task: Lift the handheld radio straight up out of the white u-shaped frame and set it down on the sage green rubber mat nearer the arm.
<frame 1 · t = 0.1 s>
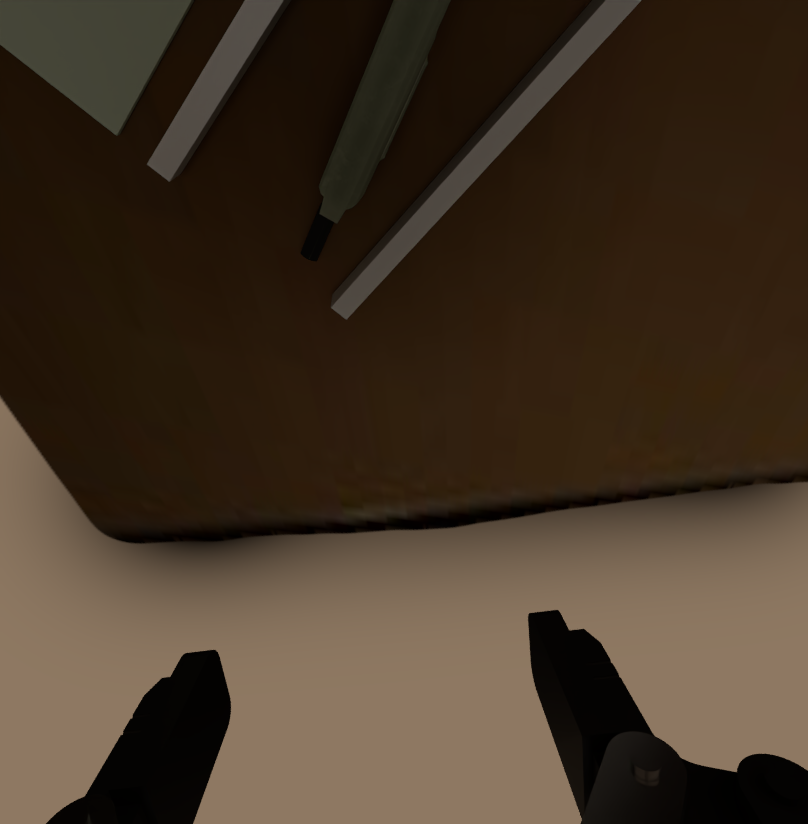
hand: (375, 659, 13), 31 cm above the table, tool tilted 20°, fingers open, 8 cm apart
white u-shaped frame: (385, 77, 32), on the table
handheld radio: (383, 77, 32), resting in white u-shaped frame
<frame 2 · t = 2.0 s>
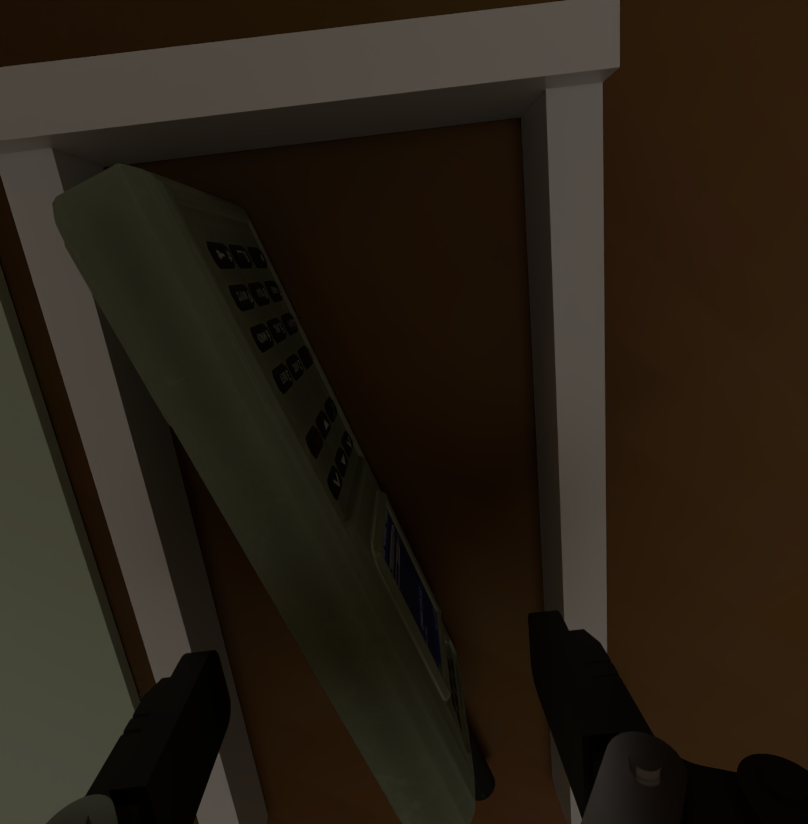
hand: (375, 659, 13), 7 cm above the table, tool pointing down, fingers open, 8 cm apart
white u-shaped frame: (370, 531, 19), on the table
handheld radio: (363, 529, 20), resting in white u-shaped frame
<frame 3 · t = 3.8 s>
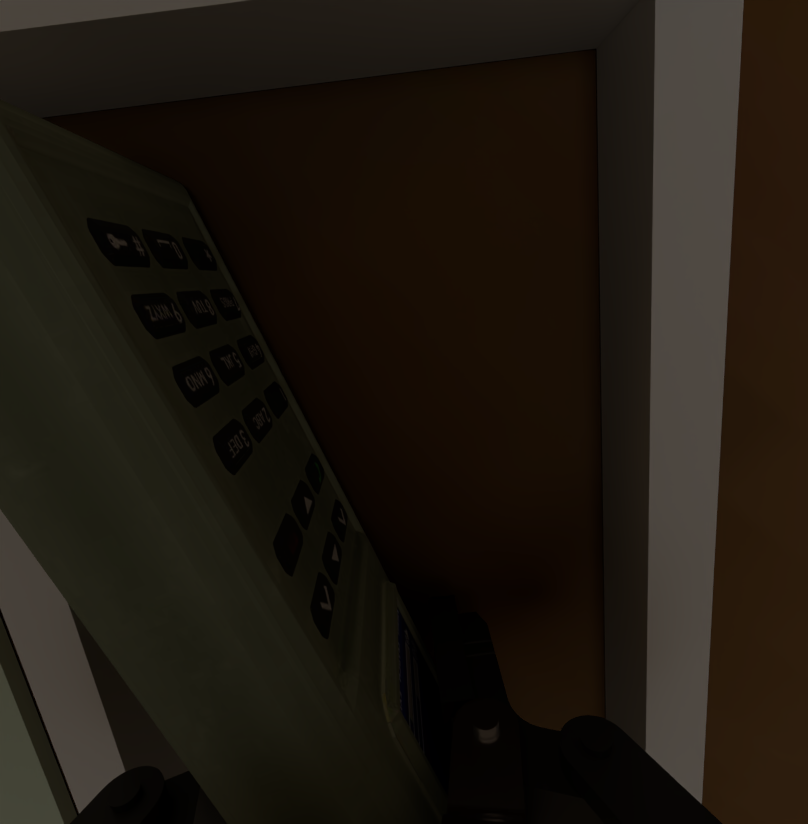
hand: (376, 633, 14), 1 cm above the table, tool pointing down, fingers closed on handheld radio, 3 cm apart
white u-shaped frame: (378, 616, 14), on the table
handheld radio: (362, 622, 15), resting in white u-shaped frame, touching gripper
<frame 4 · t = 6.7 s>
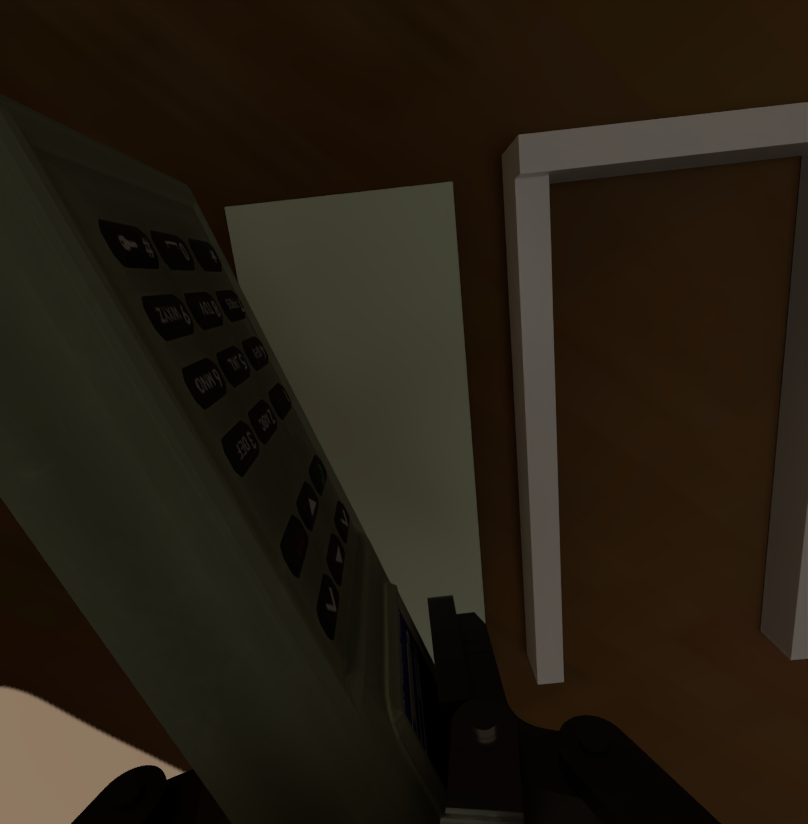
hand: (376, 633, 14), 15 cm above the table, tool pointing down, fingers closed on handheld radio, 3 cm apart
white u-shaped frame: (660, 434, 28), on the table
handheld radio: (362, 623, 15), point 14 cm above the table, touching gripper
green mat: (373, 464, 28), on the table
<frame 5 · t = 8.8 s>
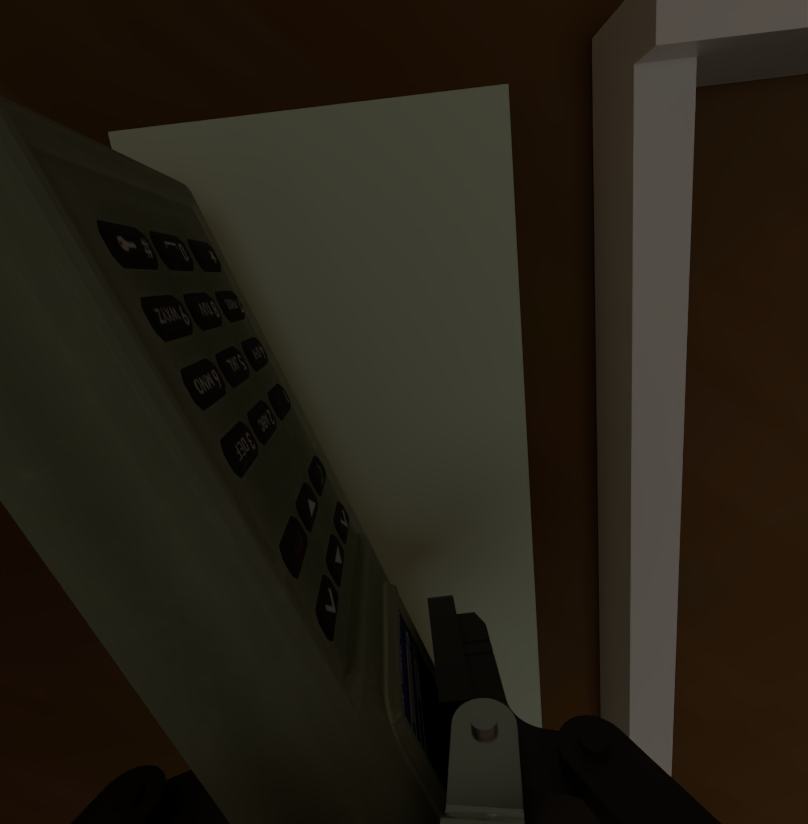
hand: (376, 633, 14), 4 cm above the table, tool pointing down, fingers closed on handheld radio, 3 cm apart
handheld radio: (362, 623, 15), point 3 cm above the table, touching gripper
green mat: (375, 551, 18), on the table
when the fingers open (2 cm above the table, at t = 10.1 s): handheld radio stays where it is, resting on green mat.
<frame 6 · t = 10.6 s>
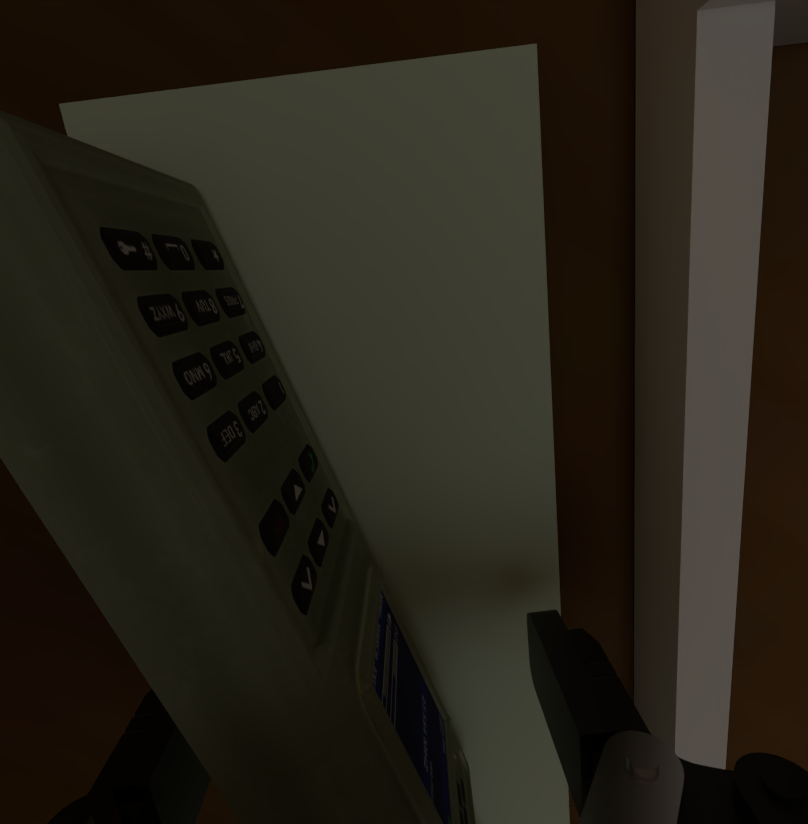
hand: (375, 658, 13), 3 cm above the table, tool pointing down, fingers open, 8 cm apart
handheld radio: (352, 605, 15), resting on green mat
green mat: (378, 590, 16), on the table
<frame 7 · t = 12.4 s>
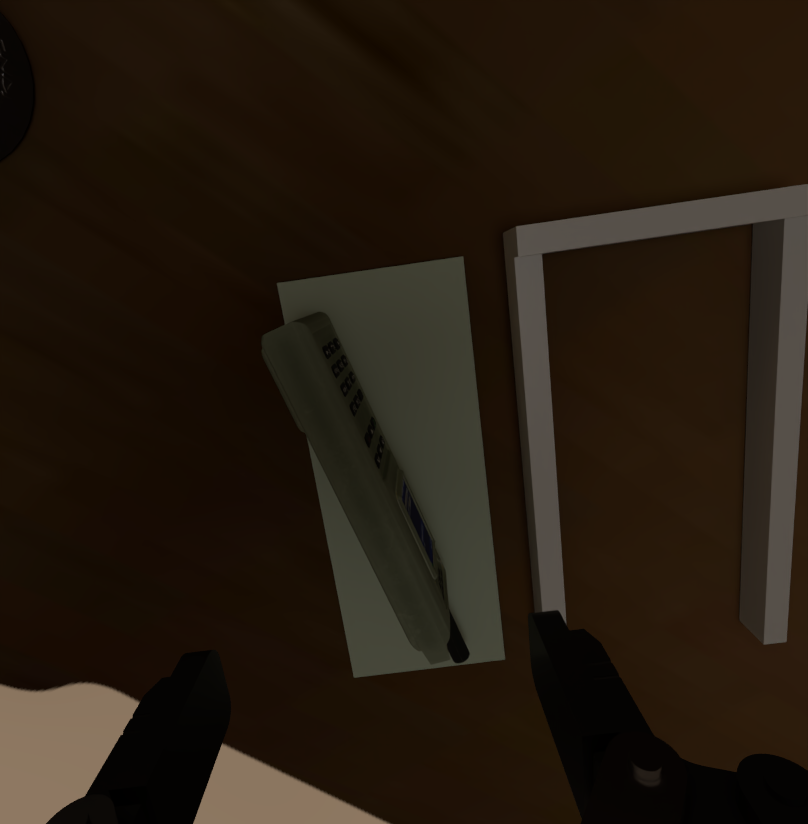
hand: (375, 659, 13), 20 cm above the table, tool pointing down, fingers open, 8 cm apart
white u-shaped frame: (644, 455, 33), on the table
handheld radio: (389, 494, 33), resting on green mat
green mat: (402, 487, 33), on the table
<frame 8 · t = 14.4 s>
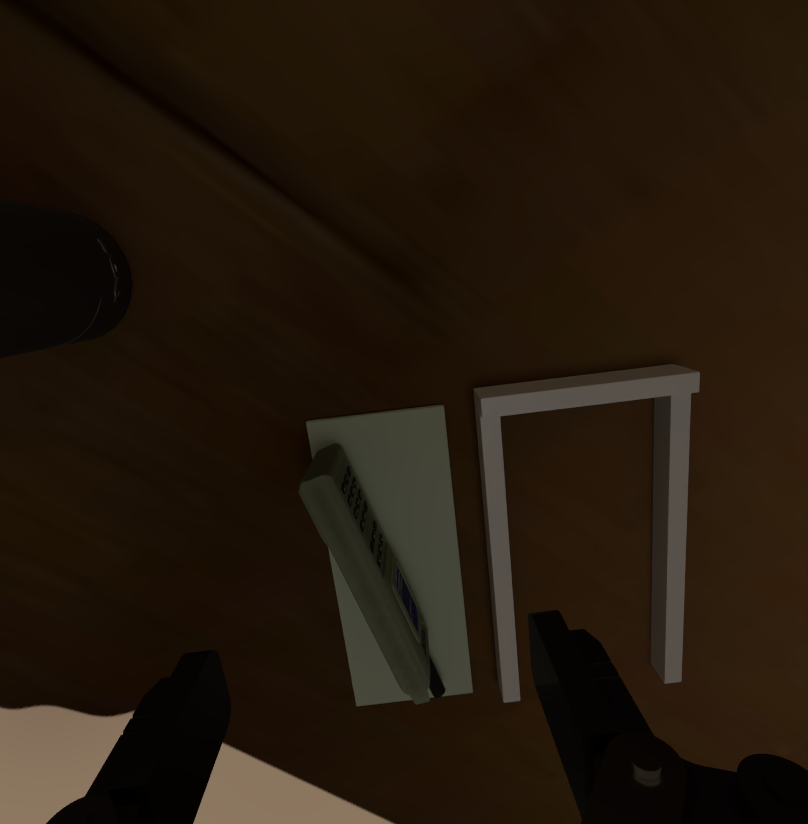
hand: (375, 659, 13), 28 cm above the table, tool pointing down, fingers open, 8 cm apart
white u-shaped frame: (578, 543, 44), on the table
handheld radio: (385, 571, 44), resting on green mat
green mat: (396, 565, 44), on the table
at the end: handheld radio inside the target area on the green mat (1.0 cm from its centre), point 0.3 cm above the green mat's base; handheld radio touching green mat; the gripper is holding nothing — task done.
